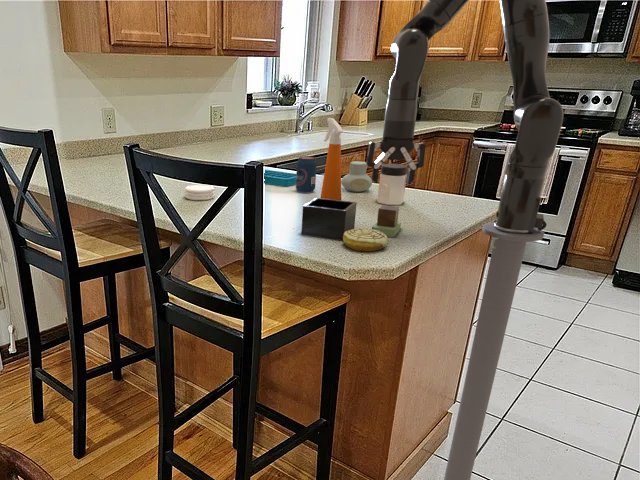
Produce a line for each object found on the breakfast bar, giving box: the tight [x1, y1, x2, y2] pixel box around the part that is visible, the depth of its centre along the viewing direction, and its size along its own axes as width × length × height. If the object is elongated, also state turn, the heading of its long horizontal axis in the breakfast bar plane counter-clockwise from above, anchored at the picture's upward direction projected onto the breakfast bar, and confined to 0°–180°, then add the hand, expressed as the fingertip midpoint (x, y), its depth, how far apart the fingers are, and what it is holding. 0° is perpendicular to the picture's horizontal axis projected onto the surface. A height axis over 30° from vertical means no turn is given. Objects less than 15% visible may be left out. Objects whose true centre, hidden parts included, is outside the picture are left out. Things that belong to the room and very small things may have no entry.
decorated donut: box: [342, 228, 389, 252], centre depth 131 cm, size 10×11×4 cm
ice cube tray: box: [263, 168, 297, 187], centre depth 205 cm, size 12×20×3 cm, turn 52°
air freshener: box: [341, 160, 373, 193], centre depth 189 cm, size 11×8×10 cm
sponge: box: [371, 221, 402, 238], centre depth 143 cm, size 9×6×2 cm, turn 154°
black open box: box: [301, 197, 358, 241], centre depth 141 cm, size 12×11×8 cm
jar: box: [377, 163, 408, 206], centre depth 172 cm, size 9×8×12 cm
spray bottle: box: [319, 117, 343, 201], centre depth 170 cm, size 7×11×26 cm, turn 18°
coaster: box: [184, 184, 215, 201], centre depth 179 cm, size 10×10×4 cm
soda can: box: [295, 155, 318, 194], centre depth 187 cm, size 7×7×12 cm
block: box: [376, 204, 400, 228], centre depth 142 cm, size 5×5×5 cm
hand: (392, 183), depth 138 cm, fingers open, 8 cm apart
